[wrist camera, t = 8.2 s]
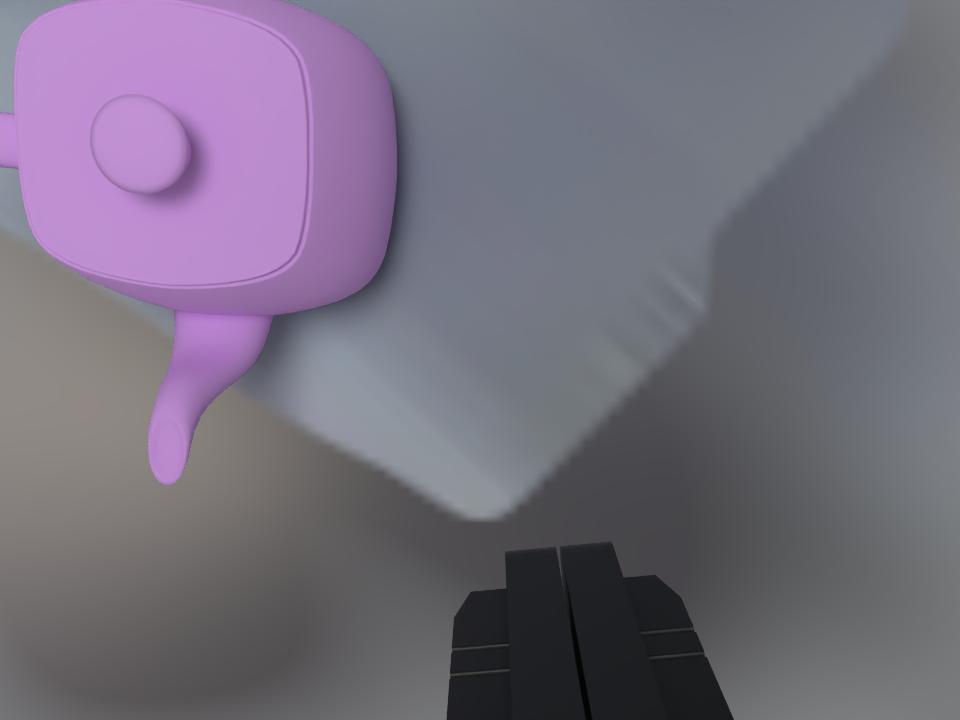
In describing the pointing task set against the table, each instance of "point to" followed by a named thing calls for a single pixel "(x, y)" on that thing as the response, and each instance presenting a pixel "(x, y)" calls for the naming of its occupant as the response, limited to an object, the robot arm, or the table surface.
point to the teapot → (204, 172)
